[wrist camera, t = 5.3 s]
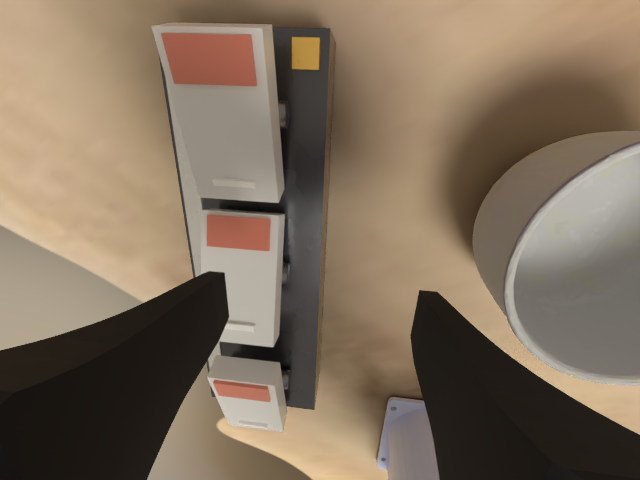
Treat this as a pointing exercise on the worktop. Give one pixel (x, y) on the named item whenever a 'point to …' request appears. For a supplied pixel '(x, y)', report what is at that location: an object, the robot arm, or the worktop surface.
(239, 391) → the block
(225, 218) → the block
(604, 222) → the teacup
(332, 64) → the switch panel
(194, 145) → the rocker
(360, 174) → the worktop surface
